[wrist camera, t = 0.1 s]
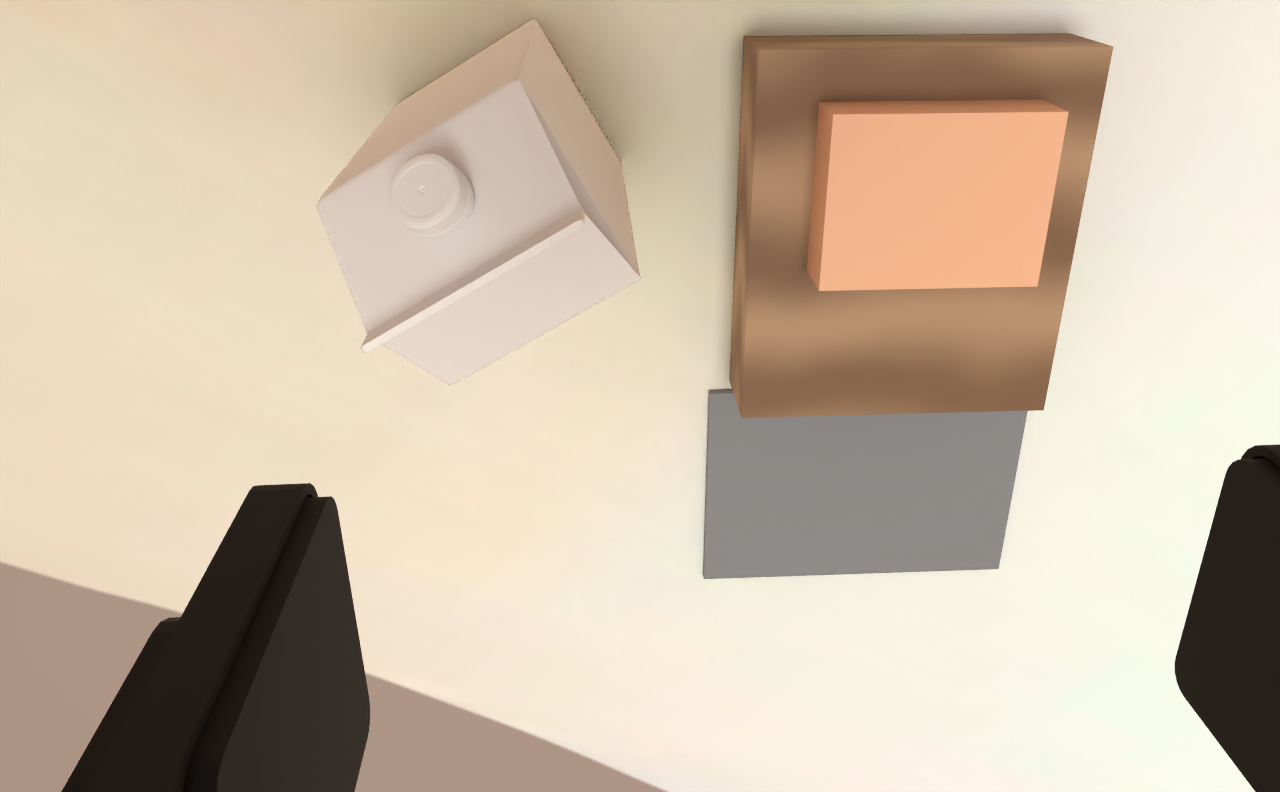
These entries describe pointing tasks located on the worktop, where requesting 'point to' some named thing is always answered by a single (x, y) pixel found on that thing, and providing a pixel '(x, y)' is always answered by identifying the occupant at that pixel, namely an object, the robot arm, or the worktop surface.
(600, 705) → the worktop surface
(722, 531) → the mat
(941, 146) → the peach flat block
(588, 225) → the milk carton
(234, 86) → the worktop surface
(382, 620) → the worktop surface
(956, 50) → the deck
